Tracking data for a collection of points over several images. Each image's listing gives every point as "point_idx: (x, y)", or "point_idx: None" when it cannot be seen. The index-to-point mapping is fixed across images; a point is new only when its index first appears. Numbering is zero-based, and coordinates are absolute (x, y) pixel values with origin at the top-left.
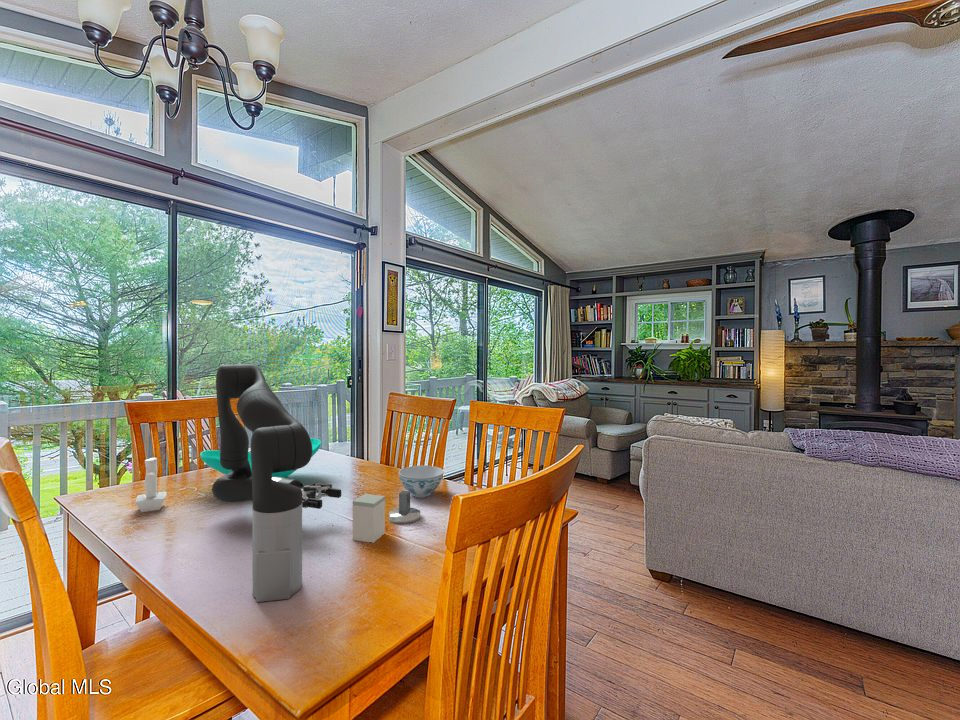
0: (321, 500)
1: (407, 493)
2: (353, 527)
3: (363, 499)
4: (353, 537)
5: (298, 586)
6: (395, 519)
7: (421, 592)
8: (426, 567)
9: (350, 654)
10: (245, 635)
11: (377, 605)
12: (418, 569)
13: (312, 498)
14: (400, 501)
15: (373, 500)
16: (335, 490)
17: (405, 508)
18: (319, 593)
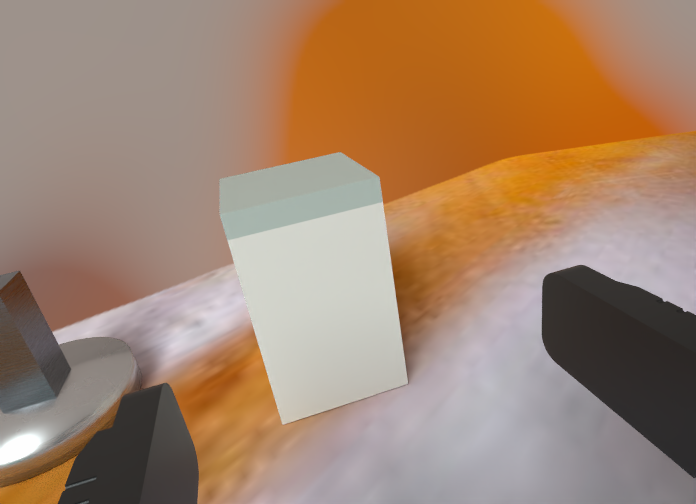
0: (553, 274)
1: (9, 273)
2: (397, 323)
3: (318, 178)
4: (403, 370)
5: None
6: (131, 376)
7: (462, 180)
8: (386, 210)
9: (649, 145)
10: None
11: (556, 178)
12: (404, 210)
13: (671, 334)
14: (25, 332)
15: (302, 166)
16: (159, 437)
17: (54, 346)
18: (679, 217)
